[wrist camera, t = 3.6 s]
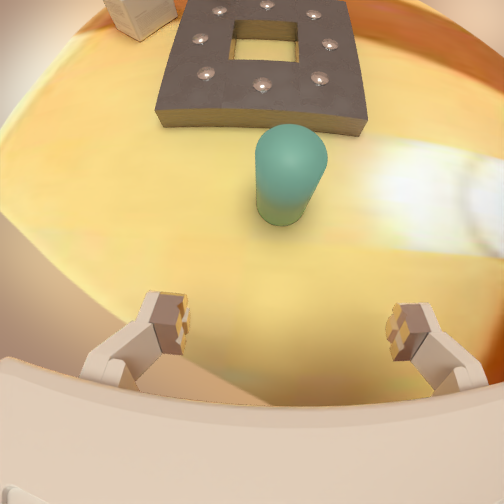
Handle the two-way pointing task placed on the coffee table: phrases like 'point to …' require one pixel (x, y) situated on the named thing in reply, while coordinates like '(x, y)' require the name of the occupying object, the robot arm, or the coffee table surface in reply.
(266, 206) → the teal cylinder
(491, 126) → the coffee table surface
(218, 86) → the rosette socket
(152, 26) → the product box
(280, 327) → the coffee table surface
